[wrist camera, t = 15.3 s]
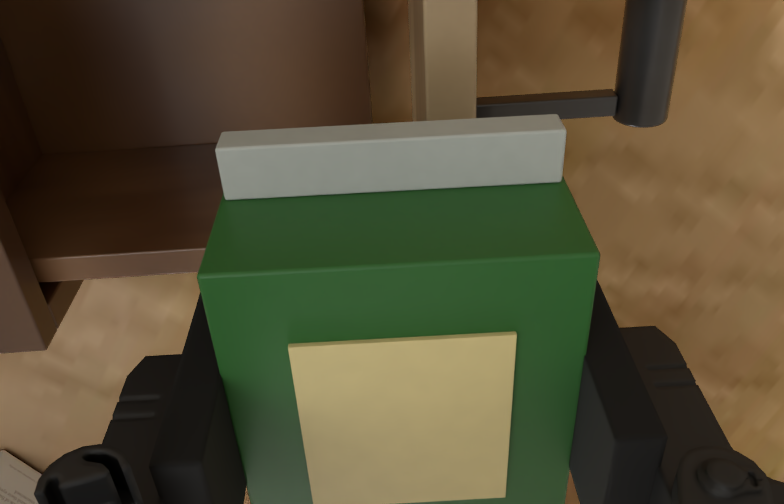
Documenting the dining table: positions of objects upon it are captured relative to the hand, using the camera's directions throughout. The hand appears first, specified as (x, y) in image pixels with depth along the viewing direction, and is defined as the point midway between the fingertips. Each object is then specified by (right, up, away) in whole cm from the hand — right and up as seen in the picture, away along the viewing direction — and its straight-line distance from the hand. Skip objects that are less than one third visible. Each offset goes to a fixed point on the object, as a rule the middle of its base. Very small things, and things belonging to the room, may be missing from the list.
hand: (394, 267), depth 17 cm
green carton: (0, 0, 0) cm, 0 cm away
